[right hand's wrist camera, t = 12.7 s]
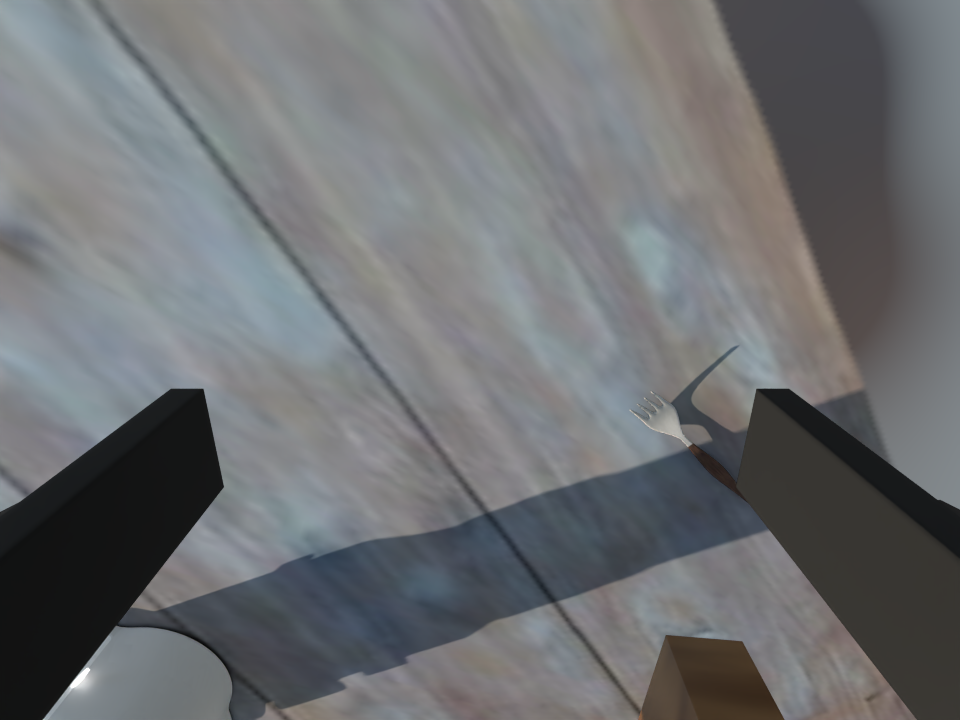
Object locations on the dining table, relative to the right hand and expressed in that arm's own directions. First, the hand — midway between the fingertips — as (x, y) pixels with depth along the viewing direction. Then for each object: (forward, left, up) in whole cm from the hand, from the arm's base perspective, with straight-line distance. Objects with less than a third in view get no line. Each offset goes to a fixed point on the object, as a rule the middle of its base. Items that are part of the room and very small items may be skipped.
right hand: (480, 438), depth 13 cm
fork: (+5, +24, -27) cm, 37 cm away
